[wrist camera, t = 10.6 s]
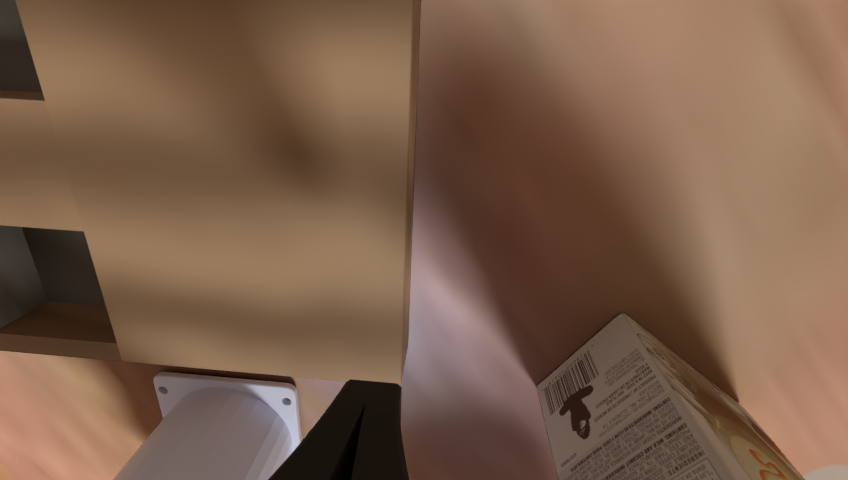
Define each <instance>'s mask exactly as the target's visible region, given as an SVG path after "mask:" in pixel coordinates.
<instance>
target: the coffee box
mask: <svg viewBox="0 0 848 480" xmlns="http://www.w3.org/2000/svg"><path fill="white" fill-rule="evenodd" d="M537 391H538V396H539V401H540V405H541V409H542V413H543V417H544V421H545V426H546V430H547V434H548V439H549V443H550V447H551V452H552V456H553V460H554V464H555V468H556V473H557V476H558V480H805V479H804V478H803V477H802V475H801V474H800V473H799V472H798V471H797V470H796V468H795V467H794V466H793V465H792V464H791V462H790V461H789V460H788V459H787V458H786V456H785V455H784V454H783V453H782V452H781V450H780V449H779V448H778V447H777V446H776V444H775V443H774V442H773V441H772V440H771V438H770V437H769V436H768V435H767V434H766V433H765V432H764V430H763V429H762V428H761V427H760V426H759V425H758V424H757V422H756V421H755V420H754V419H753V418H752V417H751V416H750V415H749V413H748V412H747V411H746V410H745V409H744V408H743V407H742V406H741V405H739V404H738V403H737V402H736V401H734V400H733V399H732V398H731V397H729V396H728V395H727V394H726V393H724V392H723V391H722V390H721V389H719V388H718V387H717V386H716V385H714V384H713V383H712V382H711V381H709V380H708V379H707V378H705V377H704V376H703V375H702V374H700V373H699V372H698V371H697V370H695V369H694V368H693V367H691V366H690V365H689V364H688V363H686V362H685V361H684V360H683V359H681V358H680V357H679V356H678V355H676V354H675V353H674V352H673V351H671V350H670V349H669V348H668V347H666V346H665V345H664V344H663V343H661V342H660V341H659V340H658V339H657V338H655V337H654V336H653V335H652V334H650V333H649V332H648V331H646V330H645V329H644V328H643V327H641V326H640V325H639V324H638V323H636V322H635V321H634V320H633V319H631V318H630V317H629V316H627V315H626V314H619V315H618V316H617V317H616V318H614V319H613V320H612V321H611V322H610V323H608V324H607V325H606V326H605V327H604V328H603V329H602V330H601V331H599V332H598V333H597V334H596V335H595V336H594V337H592V338H591V339H590V340H589V341H588V342H587V343H586V344H584V345H583V346H582V347H581V348H580V349H579V350H578V351H576V352H575V353H574V354H573V355H572V356H571V357H570V358H568V359H567V360H566V361H565V362H564V363H563V364H562V365H560V366H559V367H558V368H557V369H556V370H555V371H554V372H553V373H551V374H550V375H549V376H548V377H547V378H546V379H544V380H543V381H542V382H541V383H540V384H539V385H538V386H537Z"/></svg>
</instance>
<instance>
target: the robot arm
mask: <svg viewBox="0 0 848 480" xmlns="http://www.w3.org/2000/svg"><path fill="white" fill-rule="evenodd" d="M153 383H154V387H155V390H156V394H157V398H158V402H159V405H160V409H161V413H162V417H163V420H162V421H161V423H160V424H159V425H158V426H157V427H156V429H155V430H154V431H153V432H152V433H151V435H150V436H149V437H148V438H147V439H146V441H145V442H144V443H143V444H142V445H141V446H140V448H139V449H138V450H137V451H136V452H135V454H134V455H133V456H132V457H131V458H130V460H129V461H128V462H127V463H126V464H125V466H124V467H123V468H122V469H121V470H120V472H119V473H118V474H117V475H116V476H115V478H114V479H113V480H409V478H408V473H407V467H406V462H405V456H404V449H403V443H402V436H401V426H400V421H401V390H402V388H401V387H400V386H399V385H398V384H397V383H386V382H375V381H364V380H353V379H350V380H349V381H347V382H346V383H345V385H344V386H343V388H342V389H341V391H340V392H339V394H338V395H337V396H336V398H335V399H334V401H333V402H332V403H331V405H330V406H329V408H328V409H327V410H326V412H325V413H324V414H323V415H322V417H321V418H320V419H319V421H318V422H317V423H316V424H315V426H314V427H313V428H312V429H311V431H310V432H309V433H308V434H307V436H306V437H305V438H304V439H303V440H302V438H301V427H300V417H299V406H298V396H297V389H296V387H295V386H294V385H292V384H290V383H283V382H272V381H261V380H250V379H239V378H228V377H217V376H206V375H195V374H184V373H173V372H159V373H158V374H157V375H156V376H155V377H154V379H153ZM286 398H288V399H290V400H288V399H286Z"/></svg>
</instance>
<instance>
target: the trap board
mask: <svg viewBox="0 0 848 480" xmlns="http://www.w3.org/2000/svg"><path fill="white" fill-rule="evenodd" d="M420 12H421V0H0V351H11V352H22V353H34V354H45V355H56V356H67V357H78V358H89V359H101V360H112V361H123V362H134V363H145V364H156V365H168V366H179V367H190V368H201V369H212V370H224V371H235V372H246V373H257V374H268V375H279V376H291V377H302V378H313V379H324V380H335V381H346V382H347V381H349V380H350V379H353V380H364V381H375V382H386V383H397V384H398V385H399V386H401V382H402V376H403V370H404V365H405V359H406V353H407V348H408V331H409V305H410V278H411V251H412V225H413V198H414V172H415V145H416V118H417V92H418V65H419V38H420Z"/></svg>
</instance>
